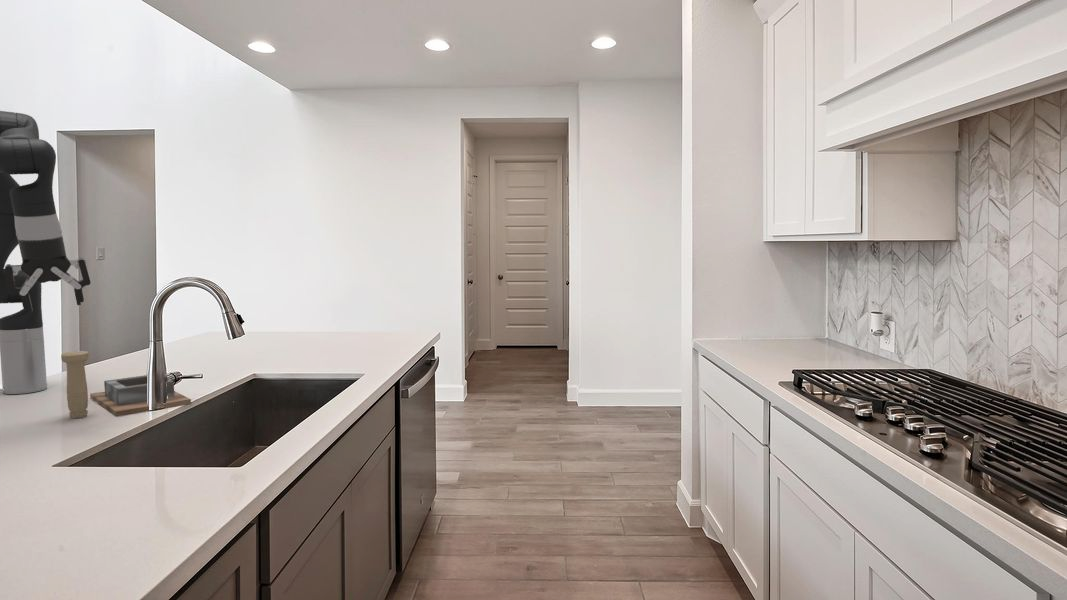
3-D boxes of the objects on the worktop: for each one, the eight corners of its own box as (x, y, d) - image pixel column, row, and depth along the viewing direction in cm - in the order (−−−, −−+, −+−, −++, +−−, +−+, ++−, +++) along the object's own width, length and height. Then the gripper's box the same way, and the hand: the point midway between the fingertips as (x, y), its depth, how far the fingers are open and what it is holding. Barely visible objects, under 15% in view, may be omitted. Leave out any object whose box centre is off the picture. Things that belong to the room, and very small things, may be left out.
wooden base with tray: (90, 398, 157) (89, 378, 157) (159, 387, 169) (158, 369, 169) (116, 416, 141) (115, 394, 141) (190, 403, 153) (190, 383, 153)
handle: (63, 421, 137) (59, 356, 135) (68, 414, 142) (64, 352, 141) (89, 418, 139) (85, 354, 138) (93, 412, 145) (89, 350, 143)
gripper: (80, 229, 136) (93, 298, 141) (-3, 235, 128) (13, 308, 133) (81, 235, 131) (95, 306, 135) (-5, 241, 122) (12, 317, 127)
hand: (55, 307), depth 134 cm, fingers open, 8 cm apart
